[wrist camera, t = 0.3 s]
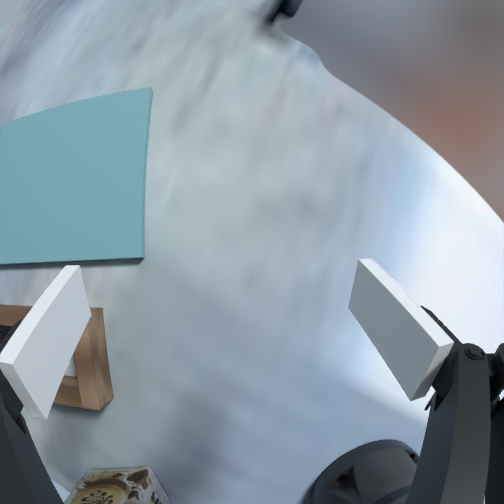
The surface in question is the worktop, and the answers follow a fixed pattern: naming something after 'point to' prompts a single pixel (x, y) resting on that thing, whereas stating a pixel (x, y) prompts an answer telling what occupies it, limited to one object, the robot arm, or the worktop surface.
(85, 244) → the teal pad
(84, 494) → the coffee box
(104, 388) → the walnut link
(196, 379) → the worktop surface
